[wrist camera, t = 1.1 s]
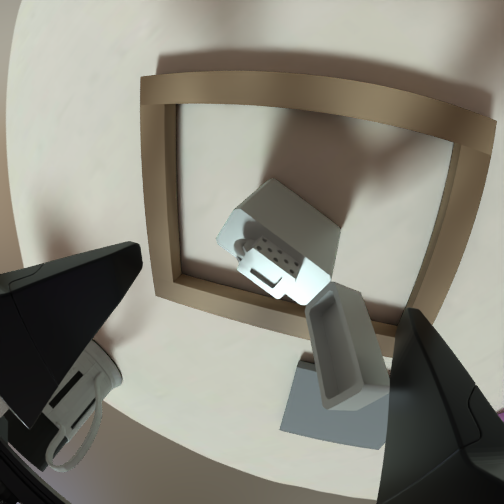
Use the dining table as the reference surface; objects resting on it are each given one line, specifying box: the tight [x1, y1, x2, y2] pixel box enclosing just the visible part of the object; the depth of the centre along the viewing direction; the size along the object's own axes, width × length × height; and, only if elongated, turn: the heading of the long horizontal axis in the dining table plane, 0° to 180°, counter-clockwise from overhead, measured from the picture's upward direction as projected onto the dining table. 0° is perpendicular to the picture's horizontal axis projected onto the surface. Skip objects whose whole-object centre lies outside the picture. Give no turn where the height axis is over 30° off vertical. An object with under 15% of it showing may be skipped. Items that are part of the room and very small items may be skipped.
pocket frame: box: [140, 71, 497, 358], centre depth 14 cm, size 16×13×1 cm
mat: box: [279, 361, 389, 450], centre depth 19 cm, size 9×9×1 cm
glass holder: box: [3, 340, 122, 472], centre depth 23 cm, size 9×14×15 cm, turn 110°
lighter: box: [216, 178, 390, 411], centre depth 11 cm, size 7×2×8 cm, turn 59°
